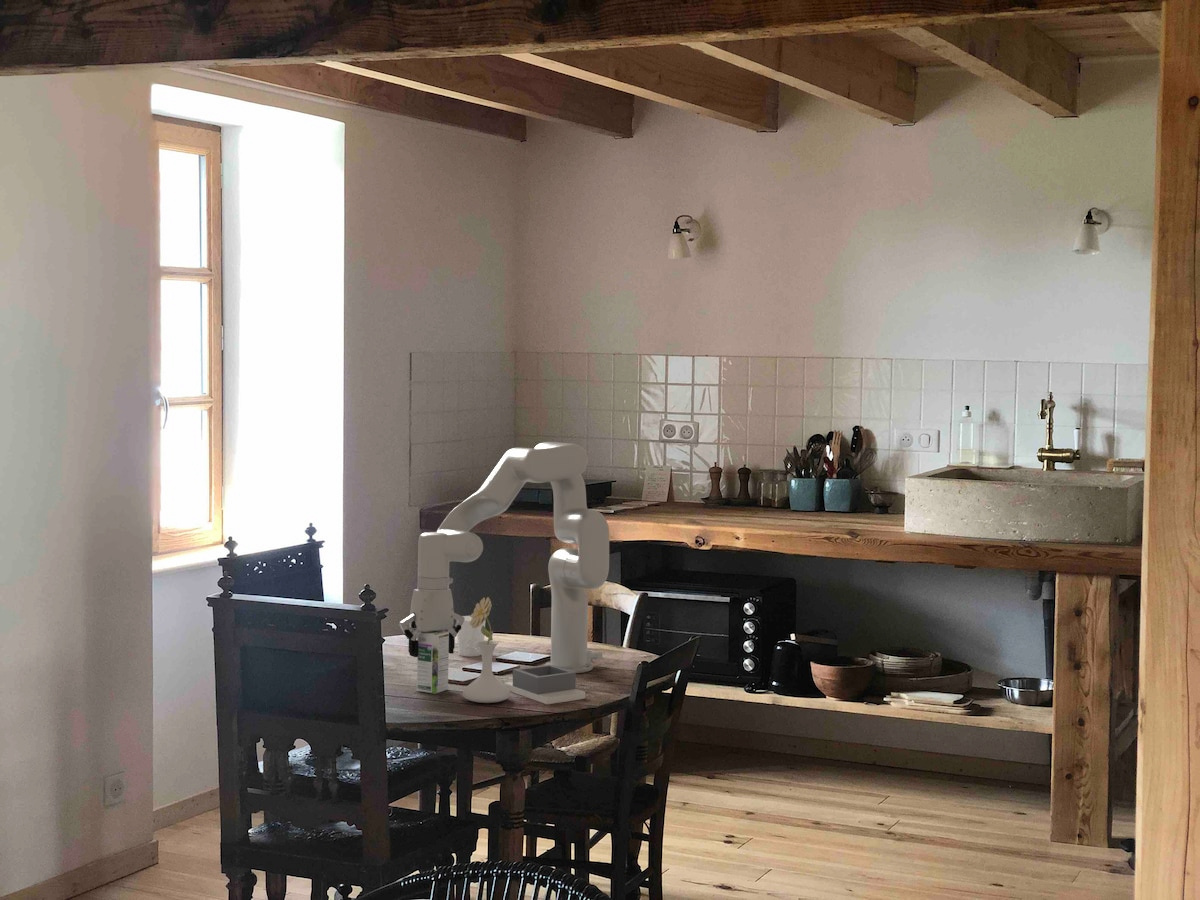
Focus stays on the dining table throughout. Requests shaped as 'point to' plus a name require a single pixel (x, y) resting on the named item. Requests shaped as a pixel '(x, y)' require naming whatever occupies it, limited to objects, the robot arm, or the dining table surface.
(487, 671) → the flower in vase
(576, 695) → the socket caddy
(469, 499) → the robot arm
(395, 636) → the dining table surface
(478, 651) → the white cup
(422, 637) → the syrup box
